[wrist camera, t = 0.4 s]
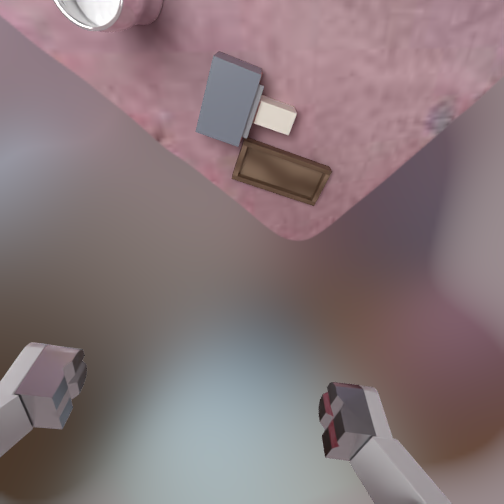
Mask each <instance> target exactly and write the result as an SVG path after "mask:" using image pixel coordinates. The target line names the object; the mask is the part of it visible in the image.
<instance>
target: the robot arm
mask: <svg viewBox="0 0 504 504" xmlns="http://www.w3.org/2000/svg"><path fill="white" fill-rule="evenodd" d="M84 356H85V355H84V351H83V349H77V348H69V347H62V346H54V345H49V344H42V343H34V342H31V343H30V344H28V345H27V346H26V347H25V348H24V349H23V350H22V352H21V353H20V355H19V356H18V357H17V359H16V360H15V362H14V363H13V365H12V366H11V367H10V369H9V370H8V372H7V373H6V374H5V376H4V377H3V379H2V380H1V381H0V457H1V456H2V455H3V454H4V453H5V452H7V451H8V450H9V449H10V448H11V447H12V446H13V445H15V444H16V443H17V442H18V441H19V440H20V439H22V438H23V437H24V436H25V435H26V434H27V433H28V432H30V431H31V430H32V427H41V428H53V429H63V427H64V425H65V423H66V421H67V419H68V417H69V414H70V412H71V411H72V408H73V406H72V401H71V400H72V399H73V398H74V397H76V396H77V395H78V394H80V392H81V389H82V387H83V385H84V382H85V379H86V375H87V366H86V363H84V362H83V361H82V360H83V358H84ZM327 389H328V392H326V393H324V394H323V395H322V397H321V399H320V402H319V420H320V423H321V424H322V426H323V427H324V428H325V431H324V433H323V435H322V440H323V447H324V453H325V457H326V458H332V459H340V460H347V461H350V464H351V466H352V467H353V469H354V471H355V472H356V474H357V476H358V477H359V479H360V480H361V482H362V484H363V485H364V487H365V488H366V490H367V492H368V494H369V495H370V497H371V498H372V500H373V502H374V503H375V504H452V503H451V502H450V501H449V500H448V498H447V497H446V496H445V495H444V494H443V493H442V491H441V490H440V489H439V488H438V487H437V485H436V484H435V483H434V482H433V481H432V480H431V478H430V477H429V476H428V475H427V474H426V473H425V472H424V470H423V469H422V468H421V467H420V465H419V464H418V463H417V462H416V461H415V460H414V458H413V457H412V456H411V455H410V454H409V453H408V451H407V450H406V449H405V448H404V447H403V446H402V444H401V443H400V442H399V441H398V440H397V439H393V437H392V434H391V431H390V428H389V425H388V422H387V419H386V416H385V413H384V410H383V406H382V403H381V400H380V397H379V394H378V391H377V390H376V389H375V388H374V387H369V386H360V385H354V384H345V383H337V382H331V383H329V385H328V387H327Z"/></svg>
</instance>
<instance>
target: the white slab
mask: <svg viewBox="0 0 504 504" xmlns="http://www.w3.org/2000/svg"><path fill="white" fill-rule="evenodd" d="M296 115H297V113H296V110H295V108H294V106H291V105H289V104H286V103H283V102H280V101H277V100H275V99H272V98H269V97H266V96H264V95H261V98H260V101H259V104H258V107H257V110H256V113H255V116H254V119H253V122H252V123H254V124H257V125H260V126H263V127H266V128H269V129H271V130H274V131H277V132H280V133H283V134H286V135H289V133H290V130H291V128H292V125H293V123H294V120H295V117H296Z"/></svg>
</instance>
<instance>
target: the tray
mask: <svg viewBox="0 0 504 504" xmlns="http://www.w3.org/2000/svg"><path fill="white" fill-rule="evenodd" d="M331 172H332V171H331V169H330V167H329V166H326V165H323V164H320V163H317V162H315V161H312V160H309V159H306V158H304V157H301V156H298V155H295V154H292V153H290V152H287V151H284V150H281V149H279V148H276V147H273V146H270V145H267V144H265V143H262V142H259V141H256V140H253V139H251V138H248V137H247V139H246V138H244V141H243V144H242V147H241V150H240V153H239V156H238V159H237V162H236V165H235V168H234V171H233V175H232V179H234V180H237V181H240V182H243V183H246V184H249V185H252V186H255V187H258V188H261V189H264V190H267V191H270V192H273V193H276V194H279V195H282V196H285V197H288V198H291V199H294V200H297V201H300V202H303V203H306V204H309V205H313V206H314V205H315V203H316V201H317V199H318V197H319V195H320V193H321V191H322V189H323V188H324V186H325V184H326V182H327V180H328V178H329V176H330V174H331Z"/></svg>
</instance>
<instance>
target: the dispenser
mask: <svg viewBox="0 0 504 504" xmlns="http://www.w3.org/2000/svg"><path fill="white" fill-rule="evenodd" d="M262 75H263V73H262V72H261V68H259V67H257V66H254V65H252V64H249V63H247V62H244V61H242V60H240V59H237V58H235V57H232V56H230V55H227V54H225V53H222V52H220V51H219V52H217V53H216V54H215V55H214V56H213V60H212V64H211V69H210V73H209V77H208V81H207V85H206V90H205V94H204V98H203V102H202V106H201V111H200V115H199V119H198V123H197V127H196V132H197V133H200V134H203V135H206V136H209V137H212V138H215V139H217V140H220V141H223V142H226V143H229V144H232V145H234V146H237V147H238V146H239V143H240V142H241V139H242V137H244V138H246V139H247V137H248V134H249V131H250V128H251V125H252V122H253V119H254V116H255V113H256V110H257V107H258V104H259V101H260V98H261V95H262V92H263V89H264V86H263V85H261V84H260V81H261V78H262Z"/></svg>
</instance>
